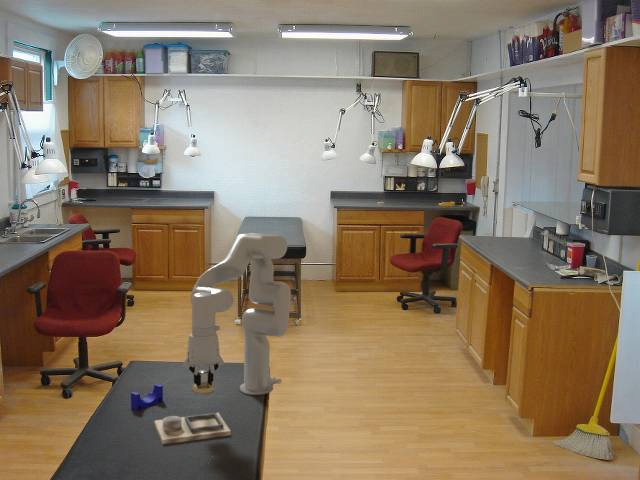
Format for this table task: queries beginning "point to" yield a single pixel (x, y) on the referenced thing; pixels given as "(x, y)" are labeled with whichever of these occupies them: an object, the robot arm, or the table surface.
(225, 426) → the carrier plate
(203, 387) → the gold and silver knob
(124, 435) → the table surface
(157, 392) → the cable clip
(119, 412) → the table surface
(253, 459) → the table surface
